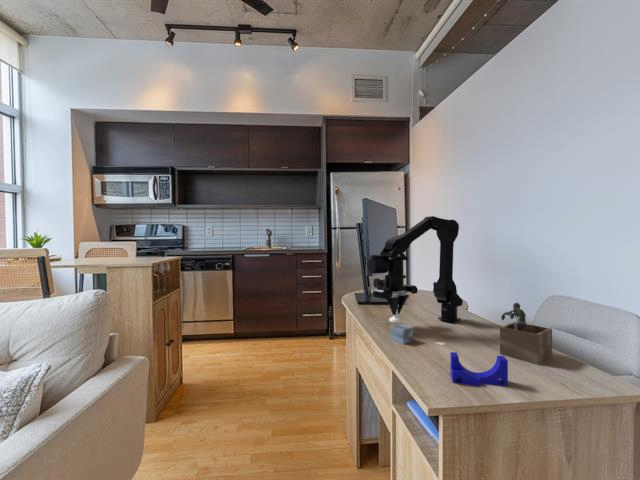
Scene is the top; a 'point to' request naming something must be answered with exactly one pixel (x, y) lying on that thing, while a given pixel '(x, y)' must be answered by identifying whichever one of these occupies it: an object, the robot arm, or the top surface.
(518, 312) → the zombie figurine
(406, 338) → the blue cube
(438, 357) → the top surface
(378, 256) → the robot arm
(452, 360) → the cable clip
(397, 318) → the chess piece
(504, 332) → the open brown box
